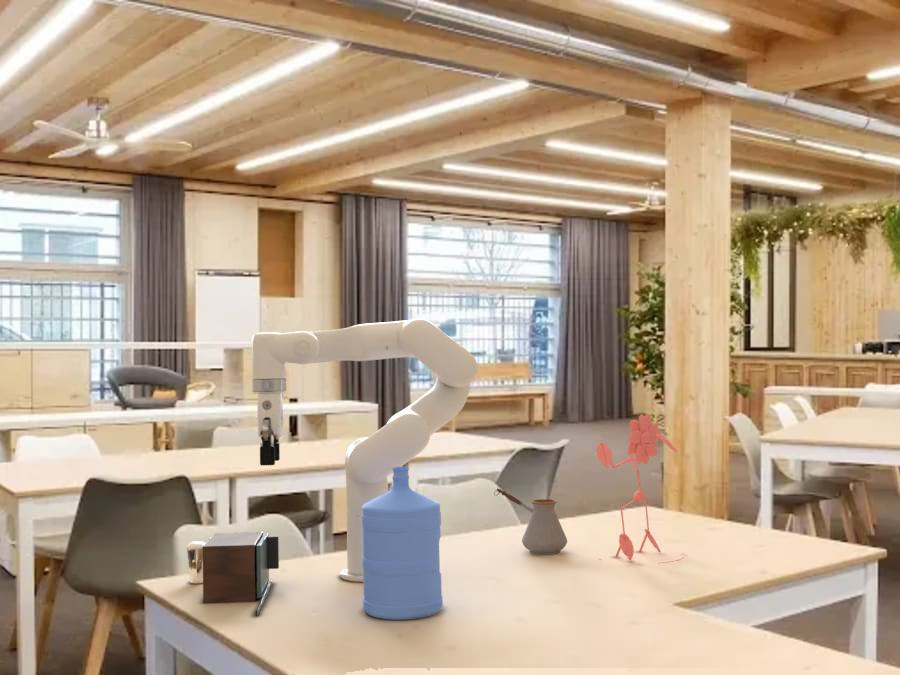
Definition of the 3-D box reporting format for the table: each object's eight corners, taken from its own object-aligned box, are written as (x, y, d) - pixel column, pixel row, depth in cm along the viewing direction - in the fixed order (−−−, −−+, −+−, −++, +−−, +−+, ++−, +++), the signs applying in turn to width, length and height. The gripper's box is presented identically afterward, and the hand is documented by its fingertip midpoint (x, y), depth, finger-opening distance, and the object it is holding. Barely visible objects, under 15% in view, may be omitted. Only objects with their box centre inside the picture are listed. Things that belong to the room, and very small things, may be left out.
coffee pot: (576, 550, 251) (575, 491, 251) (550, 558, 242) (548, 496, 243) (510, 541, 265) (509, 485, 265) (482, 548, 256) (481, 490, 257)
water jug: (413, 625, 183) (411, 474, 184) (346, 614, 192) (344, 470, 192) (457, 606, 197) (455, 465, 197) (393, 597, 205) (391, 462, 206)
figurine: (590, 561, 237) (587, 416, 238) (657, 547, 254) (653, 410, 255) (641, 571, 225) (637, 418, 226) (707, 555, 242) (704, 412, 243)
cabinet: (272, 583, 220) (271, 531, 220) (257, 616, 192) (256, 556, 192) (215, 585, 219) (214, 533, 219) (192, 618, 191) (191, 558, 191)
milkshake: (206, 584, 220) (205, 539, 220) (183, 584, 221) (183, 539, 221) (214, 580, 224) (214, 536, 225) (193, 579, 225) (192, 535, 226)
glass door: (280, 580, 220) (279, 532, 220) (272, 597, 204) (272, 545, 205) (265, 581, 220) (264, 532, 220) (257, 598, 204) (256, 545, 204)
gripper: (282, 387, 215) (282, 466, 215) (289, 385, 232) (290, 458, 232) (247, 388, 214) (248, 467, 214) (257, 386, 232) (258, 459, 231)
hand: (270, 462), depth 223 cm, fingers open, 9 cm apart
